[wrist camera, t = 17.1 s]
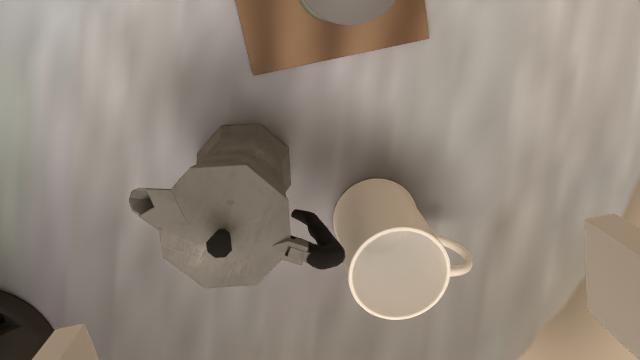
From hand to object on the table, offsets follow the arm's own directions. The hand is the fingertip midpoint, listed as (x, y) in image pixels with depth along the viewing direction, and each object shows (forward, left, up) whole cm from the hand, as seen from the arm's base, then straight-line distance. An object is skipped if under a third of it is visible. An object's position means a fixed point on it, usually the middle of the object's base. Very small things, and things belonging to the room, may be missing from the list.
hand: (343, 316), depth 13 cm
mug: (+6, -13, -35) cm, 38 cm away
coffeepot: (-6, -5, -35) cm, 36 cm away
